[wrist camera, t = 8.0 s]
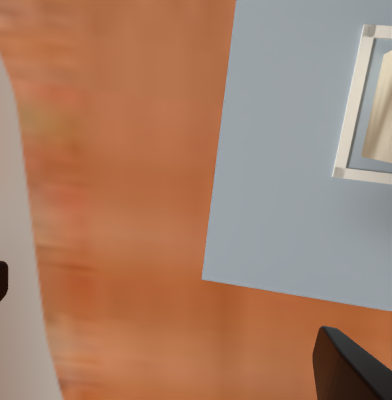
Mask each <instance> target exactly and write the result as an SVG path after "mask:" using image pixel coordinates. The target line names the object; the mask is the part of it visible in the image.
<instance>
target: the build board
mask: <svg viewBox="0 0 392 400" xmlns="http://www.w3.org/2000/svg"><path fill="white" fill-rule="evenodd" d="M391 50H392V0H236V6H235V15H234V23H233V31H232V39H231V47H230V55H229V63H228V71H227V79H226V87H225V95H224V103H223V111H222V119H221V127H220V135H219V144H218V152H217V160H216V168H215V176H214V184H213V192H212V200H211V208H210V216H209V224H208V232H207V240H206V248H205V256H204V264H203V273H202V279H203V280H209V281H215V282H220V283H226V284H232V285H238V286H244V287H250V288H256V289H262V290H268V291H274V292H280V293H286V294H292V295H298V296H304V297H310V298H316V299H321V300H327V301H333V302H339V303H345V304H351V305H357V306H363V307H369V308H375V309H381V310H387V311H392V163H389V162H384V161H379V160H375V159H370V158H365V157H361V154H362V149H363V145H364V140H365V136H366V131H367V127H368V122H369V118H370V114H371V109H372V105H373V100H374V96H375V91H376V87H377V82H378V78H379V74H380V69H381V65H382V60H383V56H384V54H386V53H388V52H389V51H391Z"/></svg>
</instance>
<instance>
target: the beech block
mask: <svg viewBox="0 0 392 400" xmlns="http://www.w3.org/2000/svg"><path fill="white" fill-rule="evenodd" d="M361 157H365V158H370V159H375V160H379V161H384V162H389V163H392V50H391V51H389V52H388V53H386V54H384V56H383V60H382V65H381V69H380V74H379V78H378V82H377V87H376V91H375V96H374V100H373V105H372V109H371V114H370V118H369V122H368V127H367V131H366V136H365V140H364V145H363V149H362V154H361Z"/></svg>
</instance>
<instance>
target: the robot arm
mask: <svg viewBox="0 0 392 400" xmlns="http://www.w3.org/2000/svg"><path fill="white" fill-rule="evenodd" d="M7 290H8V265H7V264H6V262H4V261H0V301H1V300H2V299H3V298H4V296H5V295H6V293H7ZM313 369H314V376H315V384H316V391H317V399H318V400H392V371H391V370H390V369H389V368H387V367H386V366H385V365H383V364H382V363H381V362H380V361H378V360H377V359H376V358H374V357H373V356H372V355H371V354H369V353H368V352H367V351H365V350H364V349H363V348H362V347H360V346H359V345H358V344H356V343H355V342H354V341H353V340H351V339H350V338H349V337H347V336H346V335H345V334H344V333H342V332H341V331H340V330H338V329H336V328H332V327H327V326H321V327H320V329H319V331H318V335H317V339H316V343H315V347H314V351H313Z"/></svg>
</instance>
